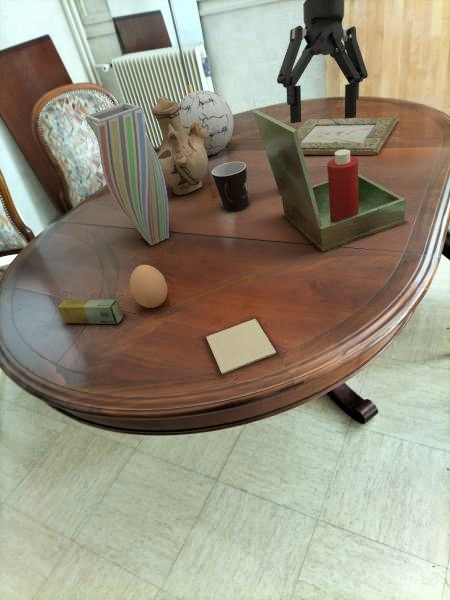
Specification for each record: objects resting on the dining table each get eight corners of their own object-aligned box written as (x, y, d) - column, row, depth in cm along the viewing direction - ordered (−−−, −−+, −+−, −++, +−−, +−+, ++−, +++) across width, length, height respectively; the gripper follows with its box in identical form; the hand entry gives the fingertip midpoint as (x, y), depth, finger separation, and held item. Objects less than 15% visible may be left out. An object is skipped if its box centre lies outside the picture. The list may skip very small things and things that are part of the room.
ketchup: (364, 215, 90) (364, 151, 81) (338, 224, 89) (336, 160, 80) (349, 205, 94) (347, 144, 86) (325, 214, 94) (321, 152, 85)
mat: (276, 353, 64) (276, 351, 64) (222, 374, 63) (221, 372, 63) (255, 320, 72) (255, 318, 71) (206, 338, 70) (206, 336, 70)
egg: (174, 309, 79) (160, 271, 73) (139, 320, 78) (122, 282, 73) (170, 290, 84) (157, 252, 79) (138, 299, 84) (122, 262, 78)
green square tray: (355, 192, 100) (354, 171, 97) (404, 222, 86) (405, 199, 83) (284, 216, 98) (281, 196, 95) (322, 252, 84) (320, 228, 80)
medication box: (124, 316, 80) (118, 298, 78) (118, 324, 78) (112, 307, 76) (71, 315, 84) (63, 298, 82) (63, 323, 81) (56, 306, 79)
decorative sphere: (196, 144, 155) (182, 86, 143) (246, 140, 147) (236, 79, 135) (172, 167, 141) (154, 104, 129) (226, 163, 133) (212, 97, 121)
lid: (256, 109, 83) (252, 111, 83) (297, 129, 68) (292, 132, 68) (283, 193, 95) (279, 195, 95) (322, 225, 80) (318, 227, 80)
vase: (142, 259, 96) (90, 126, 78) (122, 240, 106) (72, 117, 88) (192, 235, 100) (154, 103, 82) (168, 218, 110) (130, 98, 92)
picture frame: (377, 156, 115) (378, 146, 113) (276, 155, 129) (275, 147, 128) (397, 122, 132) (397, 114, 130) (306, 125, 146) (305, 117, 145)
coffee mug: (232, 196, 113) (224, 160, 107) (259, 199, 108) (252, 162, 102) (206, 217, 106) (197, 180, 100) (233, 221, 101) (225, 183, 95)
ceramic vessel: (144, 201, 123) (114, 112, 108) (181, 173, 134) (158, 90, 119) (194, 205, 113) (169, 109, 98) (229, 175, 125) (211, 85, 110)
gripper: (362, 5, 86) (359, 117, 94) (255, 2, 77) (261, 126, 85) (389, -7, 79) (384, 114, 87) (276, -13, 71) (281, 123, 78)
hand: (323, 120), depth 86 cm, fingers open, 13 cm apart
